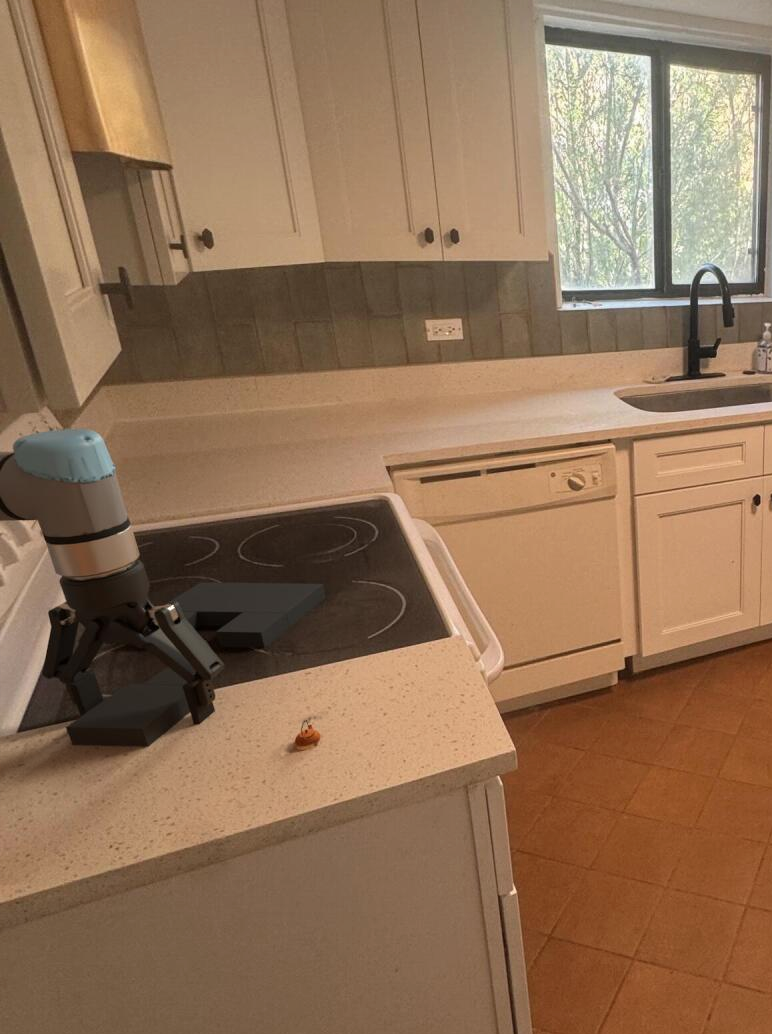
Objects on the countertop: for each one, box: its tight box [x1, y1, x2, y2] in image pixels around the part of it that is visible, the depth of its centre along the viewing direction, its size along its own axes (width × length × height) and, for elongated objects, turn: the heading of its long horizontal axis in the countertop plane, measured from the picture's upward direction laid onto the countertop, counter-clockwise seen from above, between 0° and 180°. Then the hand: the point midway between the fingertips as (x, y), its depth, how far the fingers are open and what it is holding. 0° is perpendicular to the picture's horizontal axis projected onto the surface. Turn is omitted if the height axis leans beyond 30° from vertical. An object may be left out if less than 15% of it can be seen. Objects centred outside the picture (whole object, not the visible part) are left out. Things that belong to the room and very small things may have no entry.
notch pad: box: [126, 581, 327, 649], centre depth 118 cm, size 20×16×4 cm
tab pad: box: [65, 667, 196, 748], centre depth 96 cm, size 9×13×4 cm
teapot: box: [294, 719, 321, 751], centre depth 92 cm, size 3×3×3 cm
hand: (153, 726), depth 96 cm, fingers open, 13 cm apart
